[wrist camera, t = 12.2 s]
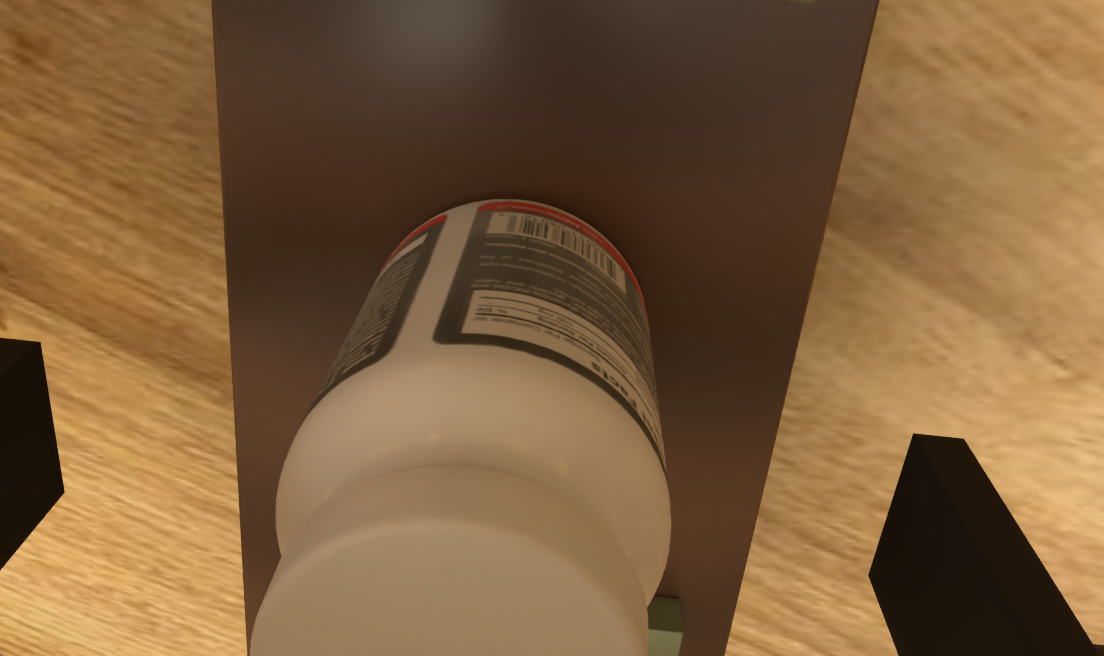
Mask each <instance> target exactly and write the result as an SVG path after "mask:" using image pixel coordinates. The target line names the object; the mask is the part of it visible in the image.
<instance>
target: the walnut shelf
mask: <svg viewBox="0 0 1104 656" xmlns="http://www.w3.org/2000/svg"><path fill="white" fill-rule="evenodd" d="M879 1H880V0H212V18H213V37H214V55H215V73H216V91H217V109H218V128H219V146H220V164H221V182H222V200H223V219H224V237H225V255H226V273H227V291H228V310H229V328H230V346H231V364H232V382H233V401H234V419H235V437H236V455H237V473H238V492H239V510H240V528H241V546H242V564H243V583H244V601H245V619H246V637H247V655H248V656H250V644H251V636H252V632H253V628H254V624H255V620H256V616H257V614H258V611H259V609H260V607H261V604H262V602H263V599H264V597H265V595H266V592H267V590H268V588H269V585H270V583H271V580H272V578H273V576H274V573H275V571H276V569H277V566H278V564H279V561H280V559H281V557H282V556H281V552H280V548H279V543H278V537H277V531H276V497H277V491H278V485H279V480H280V476H281V472H282V469H283V466H284V462H285V460H286V457H287V455H288V452H289V450H290V447H291V444H292V442H293V440H294V438H295V436H296V433H297V431H298V429H299V427H300V425H301V423H302V421H303V419H304V417H305V415H306V413H307V411H308V409H309V407H310V406H311V404H312V402H313V400H314V398H315V396H316V394H317V392H318V390H319V388H320V387H321V385H322V383H323V381H324V379H325V377H326V375H327V373H328V371H329V370H330V368H331V366H332V363H333V361H334V360H335V358H336V356H337V354H338V352H339V350H340V348H341V346H342V344H343V342H344V341H345V339H346V337H347V335H348V333H349V331H350V329H351V327H352V325H353V323H354V321H355V319H356V318H357V316H358V314H359V312H360V310H361V308H362V306H363V304H364V302H365V300H366V298H367V296H368V294H369V292H370V291H371V289H372V287H373V285H374V282H375V280H376V279H377V277H378V275H379V273H380V271H381V269H382V268H383V266H384V265H385V263H386V262H387V260H388V259H389V257H390V256H391V255H392V253H393V252H394V251H395V249H396V248H397V247H398V246H399V245H400V244H401V242H402V241H403V240H404V239H405V238H406V237H407V236H408V235H410V234H411V233H412V232H413V231H414V230H415V229H417V228H418V227H419V226H421V225H422V224H424V223H425V222H427V221H428V220H430V219H431V218H433V217H435V216H437V215H439V214H441V213H443V212H445V211H448V210H450V209H452V208H455V207H458V206H461V205H465V204H469V203H472V202H478V201H485V200H492V199H517V200H527V201H533V202H538V203H542V204H546V205H549V206H552V207H555V208H558V209H561V210H563V211H565V212H567V213H569V214H572V215H574V216H575V217H577V218H579V219H581V220H582V221H584V222H586V223H587V224H589V225H590V226H591V227H593V228H594V229H595V230H597V231H598V232H599V233H601V234H602V235H603V236H604V237H605V238H606V239H607V240H608V241H609V242H610V243H611V244H612V245H613V246H614V247H615V248H616V249H617V250H618V252H619V253H620V254H621V256H622V257H623V258H624V260H625V261H626V263H627V264H628V265H629V267H630V269H631V271H632V272H633V274H634V276H635V278H636V280H637V282H638V285H639V287H640V290H641V292H642V295H643V298H644V303H645V307H646V311H647V317H648V324H649V331H650V342H651V350H652V358H653V366H654V375H655V383H656V391H657V399H658V407H659V414H660V422H661V430H662V439H663V445H664V454H665V461H666V471H667V477H668V483H669V492H670V513H671V535H670V547H669V554H668V559H667V563H666V567H665V570H664V573H663V576H662V579H661V581H660V583H659V586H658V588H657V590H656V592H655V594H654V597H653V598H652V600H651V602H650V603H649V605H648V607H647V612H648V656H724V655H725V651H726V647H727V643H728V638H729V634H730V630H731V626H732V621H733V617H734V613H735V609H736V605H737V600H738V596H739V592H740V588H741V583H742V579H743V575H744V571H745V567H746V562H747V558H748V554H749V550H750V545H751V541H752V537H753V533H754V529H755V524H756V520H757V516H758V512H759V507H760V503H761V499H762V495H763V491H764V486H765V482H766V478H767V474H768V469H769V465H770V461H771V457H772V453H773V448H774V444H775V440H776V436H777V431H778V427H779V423H780V419H781V415H782V410H783V406H784V402H785V398H786V393H787V389H788V385H789V381H790V377H791V372H792V368H793V364H794V360H795V355H796V351H797V347H798V343H799V339H800V334H801V330H802V326H803V322H804V317H805V313H806V309H807V305H808V301H809V296H810V292H811V288H812V284H813V279H814V275H815V271H816V267H817V263H818V258H819V254H820V250H821V246H822V241H823V237H824V233H825V229H826V225H827V220H828V216H829V212H830V208H831V203H832V199H833V195H834V191H835V187H836V182H837V178H838V174H839V170H840V165H841V161H842V157H843V153H844V148H845V144H846V140H847V136H848V132H849V127H850V123H851V119H852V115H853V110H854V106H855V102H856V98H857V94H858V89H859V85H860V81H861V77H862V72H863V68H864V64H865V60H866V56H867V51H868V47H869V43H870V39H871V34H872V30H873V26H874V22H875V18H876V13H877V9H878V5H879Z"/></svg>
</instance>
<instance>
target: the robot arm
mask: <svg viewBox="0 0 1104 656" xmlns="http://www.w3.org/2000/svg"><path fill="white" fill-rule="evenodd" d="M63 494H64V486H63V480H62V473H61V467H60V461H59V455H58V449H57V442H56V436H55V430H54V424H53V417H52V411H51V405H50V399H49V392H48V386H47V380H46V374H45V367H44V361H43V355H42V349H41V342H35V341H25V340H16V339H6V338H0V570H1V569H2V568H3V566H4V565H5V564H6V563H7V562H8V560H9V559H10V558H11V557H12V555H13V554H14V553H15V552H16V551H17V549H18V548H19V547H20V546H21V545H22V543H23V542H24V541H25V540H26V538H27V537H28V536H29V535H30V534H31V532H32V531H33V530H34V529H35V528H36V526H37V525H38V524H39V523H40V521H41V520H42V519H43V518H44V517H45V515H46V514H47V513H48V512H49V511H50V509H51V508H52V507H53V506H54V505H55V503H56V502H57V501H58V500H59V498H60V497H61V496H62V495H63ZM868 576H869V578H870V581H871V584H872V586H873V589H874V592H875V594H876V597H877V600H878V602H879V605H880V608H881V610H882V613H883V616H884V618H885V621H886V623H887V626H888V629H889V631H890V634H891V637H892V639H893V642H894V645H895V647H896V650H897V653H898V655H899V656H1104V645H1096V644H1092V642H1091V640H1090V639H1089V637H1088V636H1087V634H1086V632H1085V631H1084V629H1083V628H1082V626H1081V624H1080V623H1079V621H1078V620H1077V618H1076V617H1075V615H1074V613H1073V612H1072V610H1071V609H1070V607H1069V605H1068V604H1067V602H1066V601H1065V599H1064V597H1063V596H1062V594H1061V593H1060V591H1059V589H1058V588H1057V586H1056V585H1055V583H1054V581H1053V580H1052V578H1051V577H1050V575H1049V574H1048V572H1047V570H1046V569H1045V567H1044V566H1043V564H1042V562H1041V561H1040V559H1039V558H1038V556H1037V554H1036V553H1035V551H1034V550H1033V548H1032V546H1031V545H1030V543H1029V542H1028V540H1027V539H1026V537H1025V535H1024V534H1023V532H1022V531H1021V529H1020V527H1019V526H1018V524H1017V523H1016V521H1015V519H1014V518H1013V516H1012V515H1011V513H1010V511H1009V510H1008V508H1007V507H1006V505H1005V503H1004V502H1003V500H1002V499H1001V497H1000V496H999V494H998V492H997V491H996V489H995V488H994V486H993V484H992V483H991V481H990V480H989V478H988V476H987V475H986V473H985V472H984V470H983V468H982V467H981V465H980V464H979V462H978V460H977V459H976V457H975V456H974V454H973V453H972V451H971V449H970V448H969V446H968V445H967V443H966V441H965V440H964V439H961V438H952V437H942V436H933V435H923V434H914V433H913V436H912V439H911V442H910V446H909V449H908V452H907V455H906V458H905V461H904V465H903V468H902V471H901V474H900V477H899V480H898V483H897V487H896V490H895V493H894V496H893V499H892V502H891V506H890V509H889V512H888V515H887V518H886V521H885V524H884V528H883V531H882V534H881V537H880V540H879V543H878V547H877V550H876V553H875V556H874V559H873V562H872V566H871V569H870V572H869V575H868Z"/></svg>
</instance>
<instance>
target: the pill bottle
mask: <svg viewBox="0 0 1104 656" xmlns="http://www.w3.org/2000/svg"><path fill="white" fill-rule="evenodd" d="M276 531H277V537H278V543H279V548H280V552H281V556H282V557H281V559H280V561H279V564H278V566H277V569H276V571H275V573H274V576H273V578H272V580H271V583H270V585H269V588H268V590H267V592H266V595H265V597H264V599H263V602H262V604H261V607H260V609H259V611H258V614H257V616H256V620H255V624H254V628H253V632H252V636H251V644H250V656H648V612H647V607H648V605H649V603H650V602H651V600H652V598H653V597H654V594H655V592H656V590H657V588H658V586H659V583H660V581H661V579H662V576H663V573H664V570H665V567H666V563H667V559H668V554H669V547H670V535H671V513H670V492H669V483H668V477H667V471H666V461H665V454H664V445H663V439H662V430H661V422H660V414H659V407H658V399H657V391H656V383H655V375H654V366H653V358H652V350H651V342H650V331H649V324H648V317H647V311H646V307H645V303H644V298H643V295H642V292H641V290H640V287H639V285H638V282H637V280H636V278H635V276H634V274H633V272H632V271H631V269H630V267H629V265H628V264H627V263H626V261H625V260H624V258H623V257H622V256H621V254H620V253H619V252H618V250H617V249H616V248H615V247H614V246H613V245H612V244H611V243H610V242H609V241H608V240H607V239H606V238H605V237H604V236H603V235H602V234H601V233H599V232H598V231H597V230H595V229H594V228H593V227H591V226H590V225H589V224H587V223H586V222H584V221H582V220H581V219H579V218H577V217H575V216H574V215H572V214H569V213H567V212H565V211H563V210H561V209H558V208H555V207H552V206H549V205H546V204H542V203H538V202H533V201H527V200H517V199H492V200H485V201H478V202H472V203H469V204H465V205H461V206H458V207H455V208H452V209H450V210H448V211H445V212H443V213H441V214H439V215H437V216H435V217H433V218H431V219H430V220H428V221H427V222H425V223H424V224H422V225H421V226H419V227H418V228H417V229H415V230H414V231H413V232H412V233H411V234H410V235H408V236H407V237H406V238H405V239H404V240H403V241H402V242H401V244H400V245H399V246H398V247H397V248H396V249H395V251H394V252H393V253H392V255H391V256H390V257H389V259H388V260H387V262H386V263H385V265H384V266H383V268H382V269H381V271H380V273H379V275H378V277H377V279H376V280H375V282H374V285H373V287H372V289H371V291H370V292H369V294H368V296H367V298H366V300H365V302H364V304H363V306H362V308H361V310H360V312H359V314H358V316H357V318H356V319H355V321H354V323H353V325H352V327H351V329H350V331H349V333H348V335H347V337H346V339H345V341H344V342H343V344H342V346H341V348H340V350H339V352H338V354H337V356H336V358H335V360H334V361H333V363H332V366H331V368H330V370H329V371H328V373H327V375H326V377H325V379H324V381H323V383H322V385H321V387H320V388H319V390H318V392H317V394H316V396H315V398H314V400H313V402H312V404H311V406H310V407H309V409H308V411H307V413H306V415H305V417H304V419H303V421H302V423H301V425H300V427H299V429H298V431H297V433H296V436H295V438H294V440H293V442H292V444H291V447H290V450H289V452H288V455H287V457H286V460H285V462H284V466H283V469H282V472H281V476H280V480H279V485H278V491H277V497H276Z"/></svg>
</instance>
